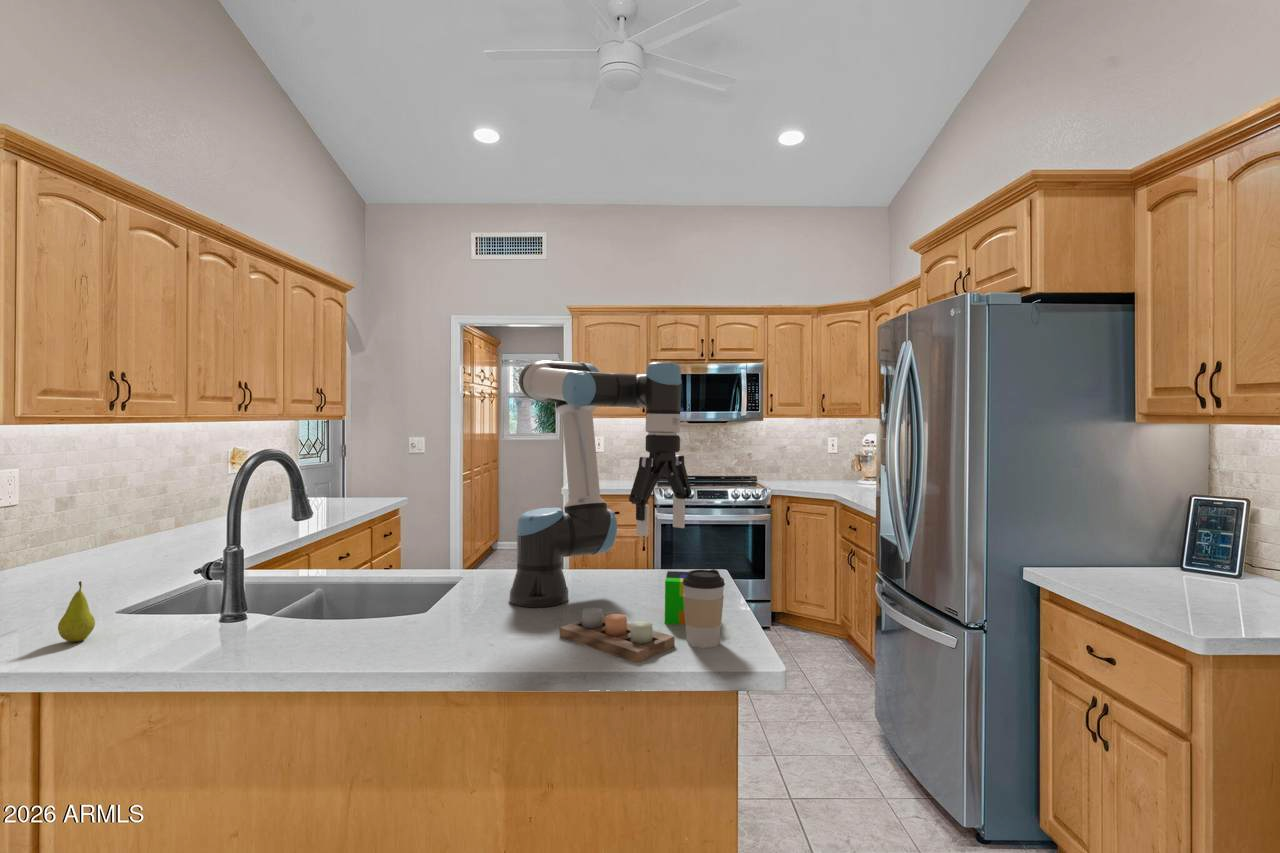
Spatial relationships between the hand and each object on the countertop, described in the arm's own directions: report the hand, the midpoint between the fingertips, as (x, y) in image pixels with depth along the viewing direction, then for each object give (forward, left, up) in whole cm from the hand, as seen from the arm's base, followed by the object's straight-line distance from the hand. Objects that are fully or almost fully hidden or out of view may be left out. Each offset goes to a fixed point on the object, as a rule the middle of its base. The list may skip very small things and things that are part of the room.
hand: (661, 531), depth 137 cm
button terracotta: (-5, -9, -21) cm, 23 cm away
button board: (-5, -9, -23) cm, 25 cm away
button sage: (+2, -9, -21) cm, 23 cm away
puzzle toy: (-3, +14, -23) cm, 27 cm away
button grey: (-12, -9, -21) cm, 26 cm away
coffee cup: (+9, +3, -23) cm, 25 cm away
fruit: (-88, -83, -23) cm, 123 cm away
